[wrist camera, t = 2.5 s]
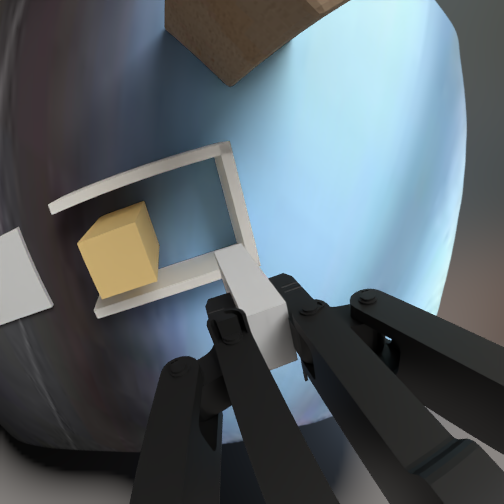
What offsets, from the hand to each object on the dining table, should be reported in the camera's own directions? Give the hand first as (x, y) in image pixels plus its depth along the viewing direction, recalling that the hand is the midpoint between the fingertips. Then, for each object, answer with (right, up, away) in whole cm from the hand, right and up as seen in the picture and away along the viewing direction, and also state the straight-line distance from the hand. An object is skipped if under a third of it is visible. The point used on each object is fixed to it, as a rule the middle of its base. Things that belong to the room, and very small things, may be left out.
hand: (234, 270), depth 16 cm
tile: (-28, -2, +11) cm, 30 cm away
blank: (-12, +3, +14) cm, 18 cm away
